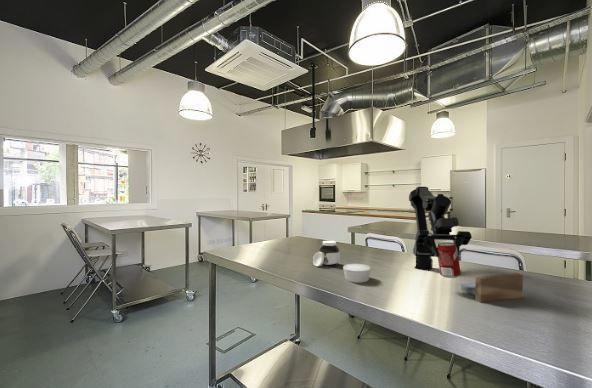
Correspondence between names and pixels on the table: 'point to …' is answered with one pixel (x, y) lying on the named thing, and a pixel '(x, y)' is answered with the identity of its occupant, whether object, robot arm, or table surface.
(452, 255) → the soda can
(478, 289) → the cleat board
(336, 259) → the spread jar
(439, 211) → the robot arm
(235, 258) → the table surface
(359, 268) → the ramekin
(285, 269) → the table surface
